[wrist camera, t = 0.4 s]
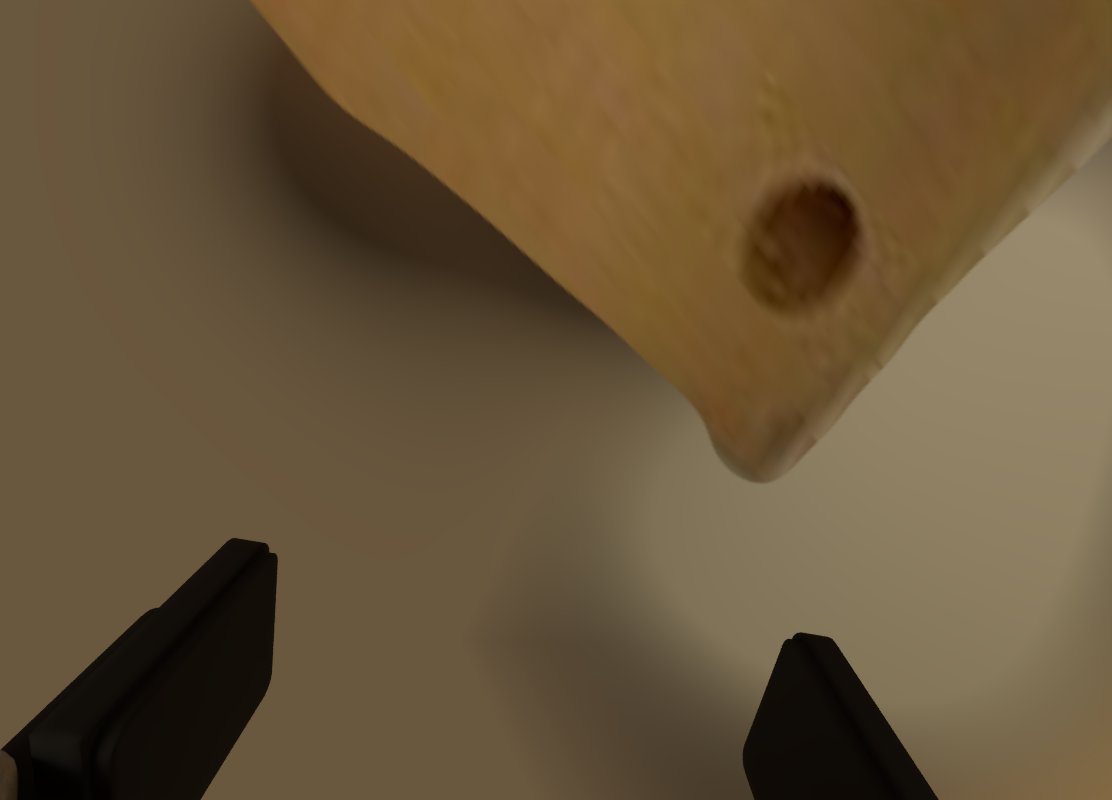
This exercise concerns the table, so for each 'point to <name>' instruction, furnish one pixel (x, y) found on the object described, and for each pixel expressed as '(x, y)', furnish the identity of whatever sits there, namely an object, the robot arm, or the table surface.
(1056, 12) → the table surface
